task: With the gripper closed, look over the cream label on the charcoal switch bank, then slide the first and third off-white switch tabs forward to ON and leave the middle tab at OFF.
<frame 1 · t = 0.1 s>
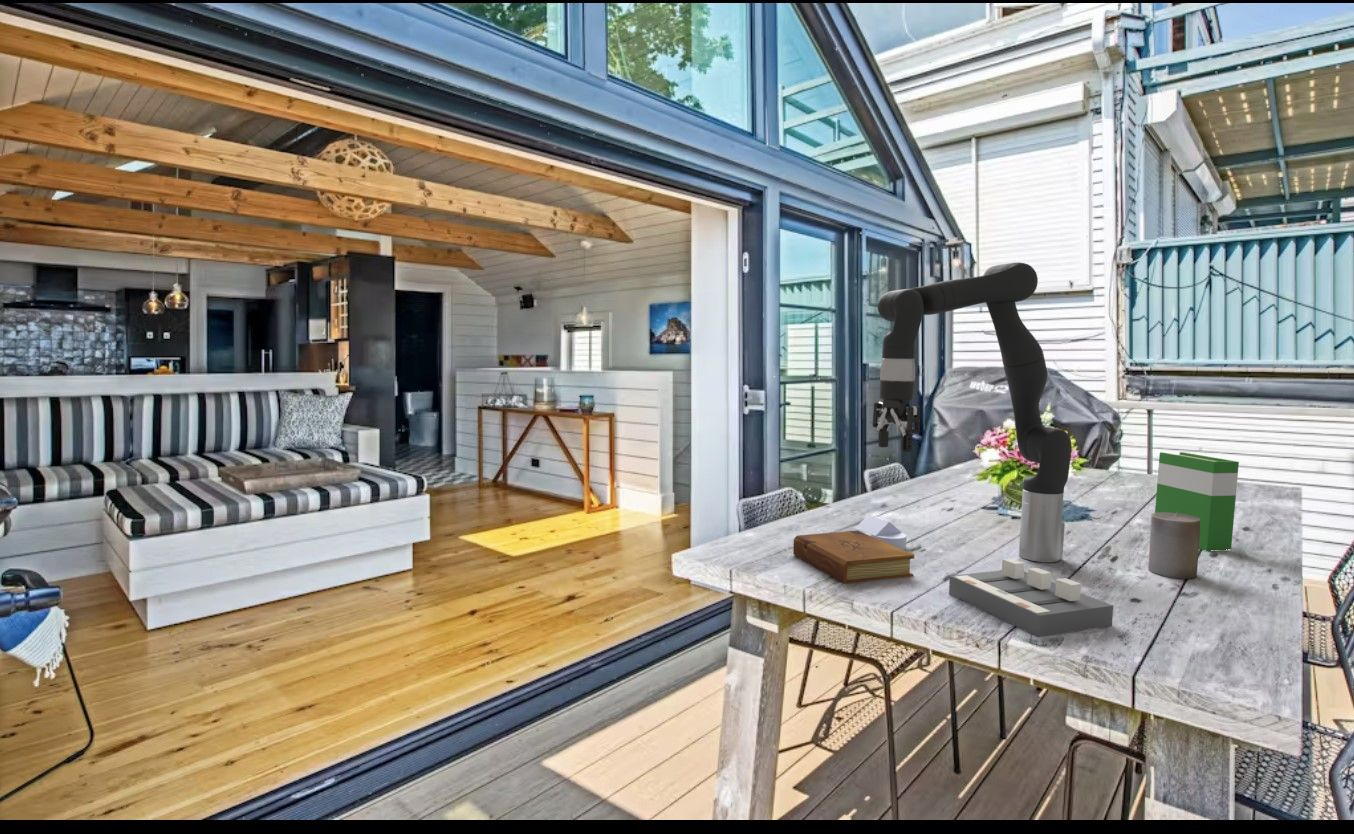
hand: (894, 449, 165), 29 cm above the table, tool pointing down, fingers open, 8 cm apart
diary: (850, 568, 174), on the table
switch tab 2: (1039, 578, 146), point 6 cm above the table, slide at 0.0 cm
switch tab 3: (1067, 589, 139), point 6 cm above the table, slide at 0.0 cm
switch tab 1: (1012, 568, 153), point 6 cm above the table, slide at 0.0 cm
wedge on round base: (883, 545, 193), on the table
hardback book: (1190, 542, 200), on the table
switch bank: (1025, 608, 146), on the table
pillar candle: (1171, 573, 171), on the table
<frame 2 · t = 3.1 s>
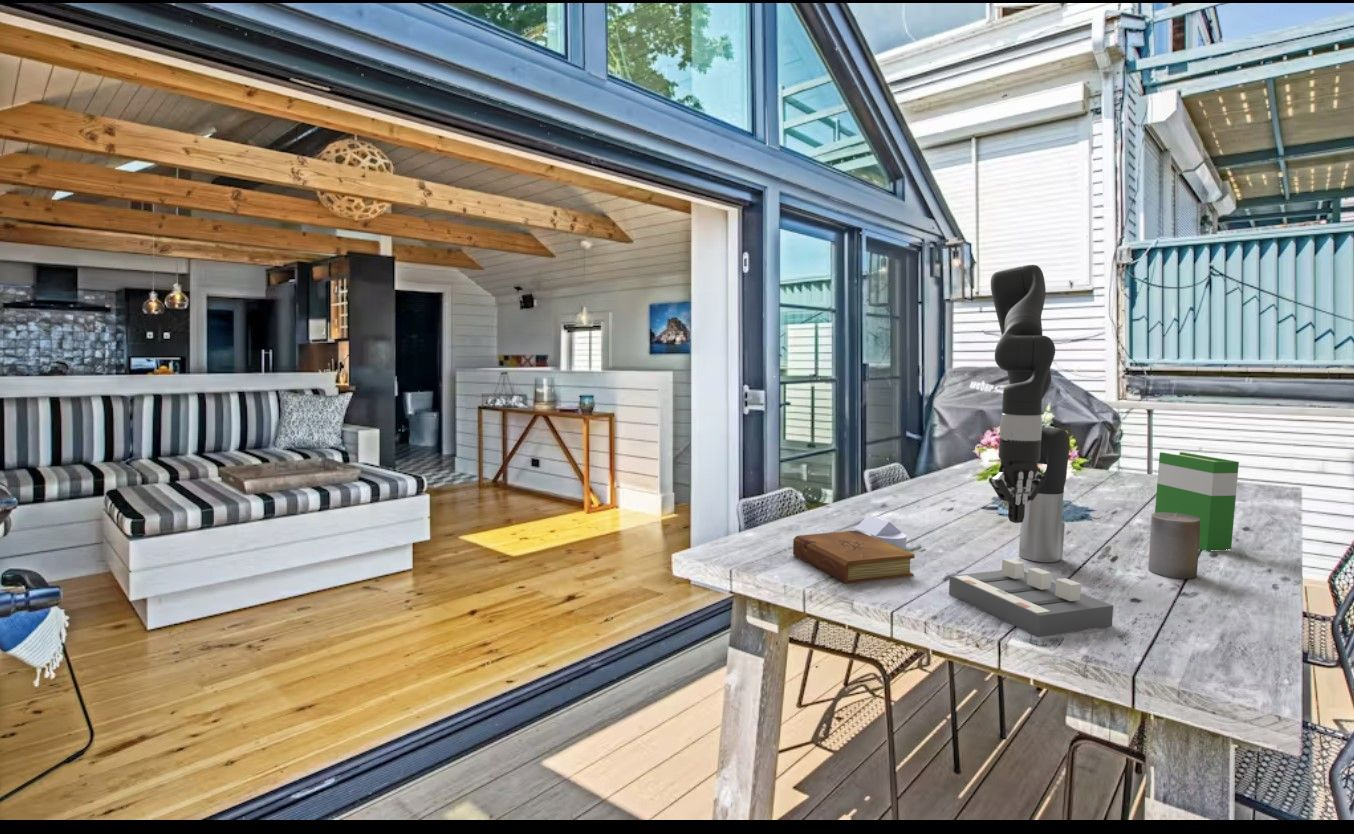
hand: (1015, 521, 144), 18 cm above the table, tool pointing down, fingers closed
nothing on the table moved.
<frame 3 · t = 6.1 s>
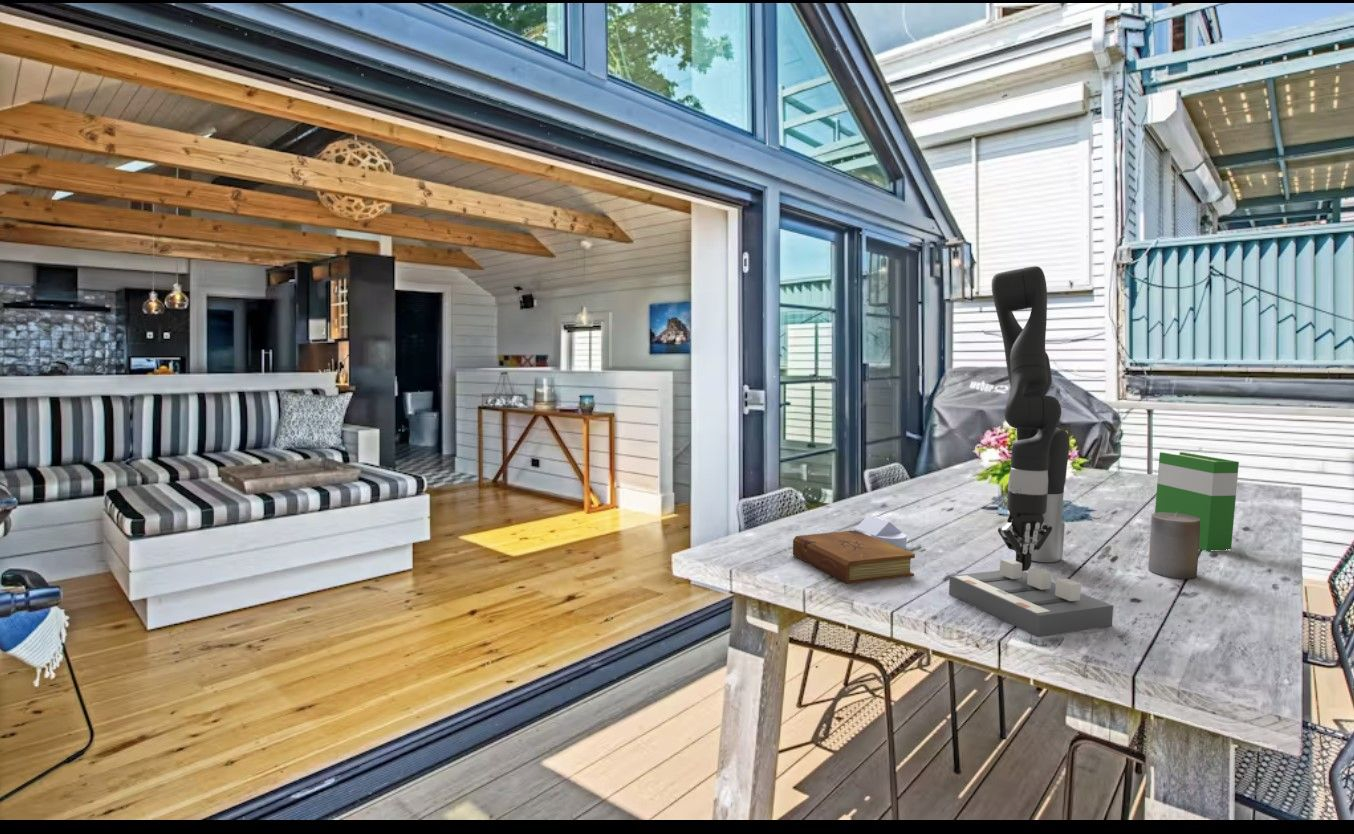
hand: (1022, 569, 153), 6 cm above the table, tool pointing down, fingers closed
switch tab 1: (1010, 568, 152), point 6 cm above the table, slide at 0.6 cm, touching gripper
everything else where it was.
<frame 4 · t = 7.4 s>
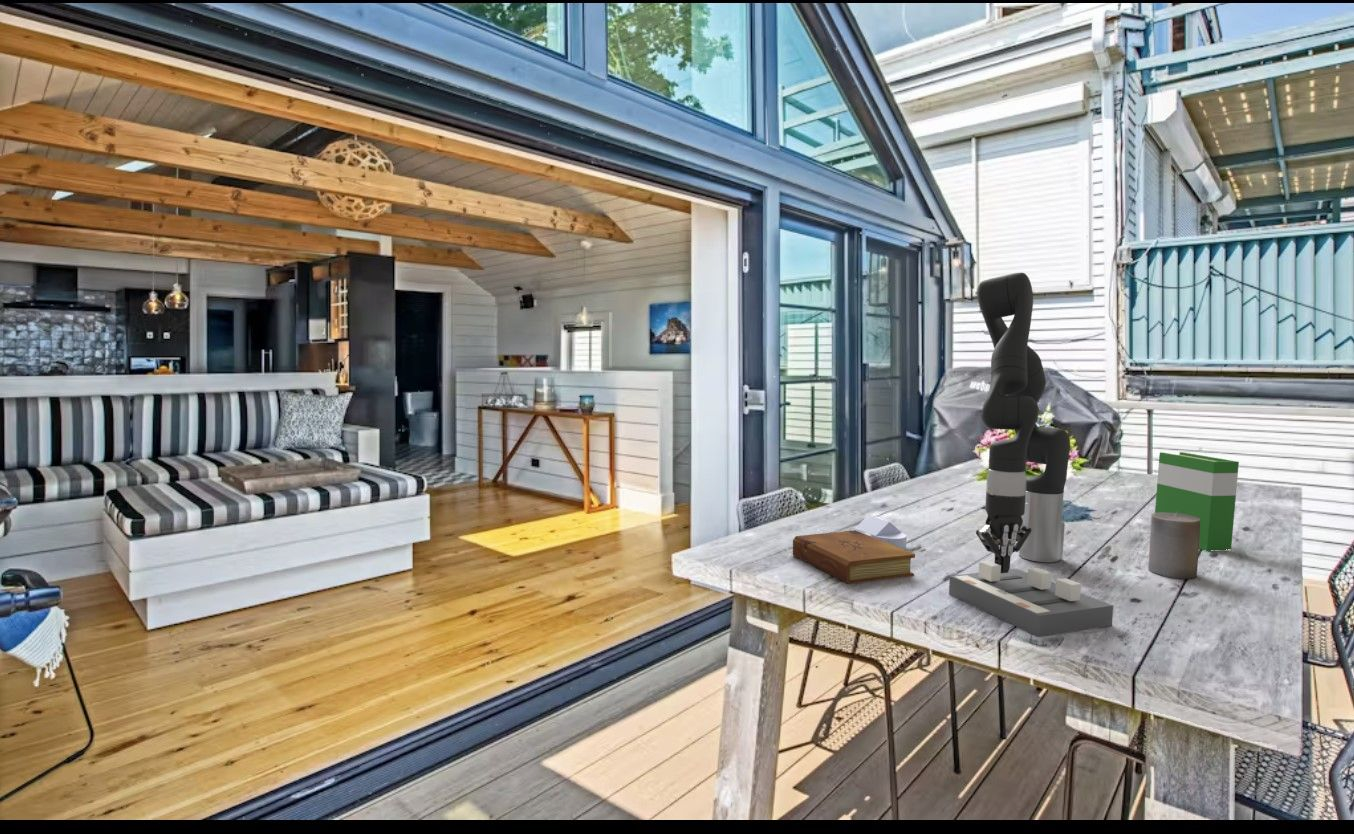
hand: (1001, 571, 151), 6 cm above the table, tool pointing down, fingers closed
switch tab 1: (989, 571, 151), point 6 cm above the table, slide at 6.1 cm, touching gripper
everything else where it was.
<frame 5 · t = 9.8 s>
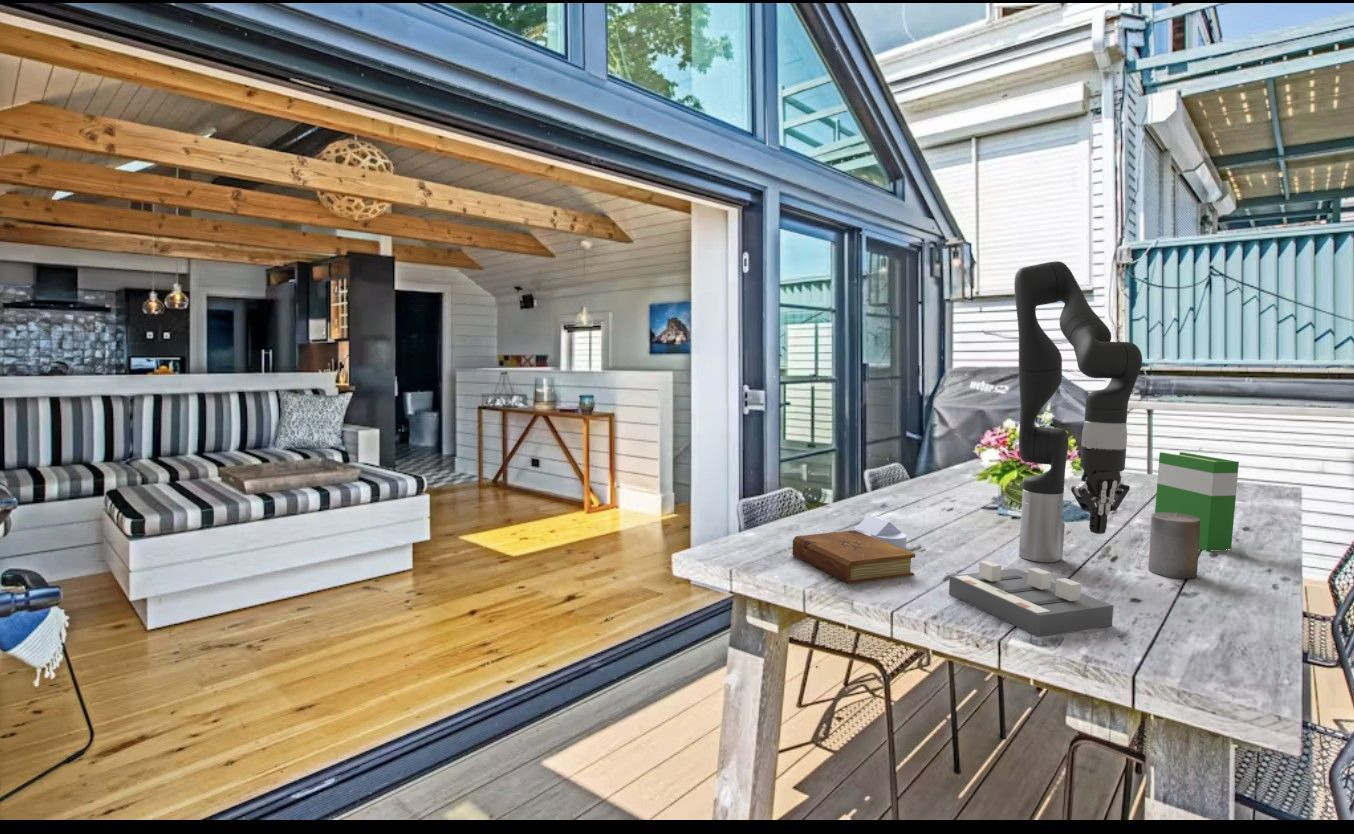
hand: (1097, 532, 141), 17 cm above the table, tool pointing down, fingers closed
switch tab 1: (989, 570, 151), point 6 cm above the table, slide at 6.1 cm
everything else where it was.
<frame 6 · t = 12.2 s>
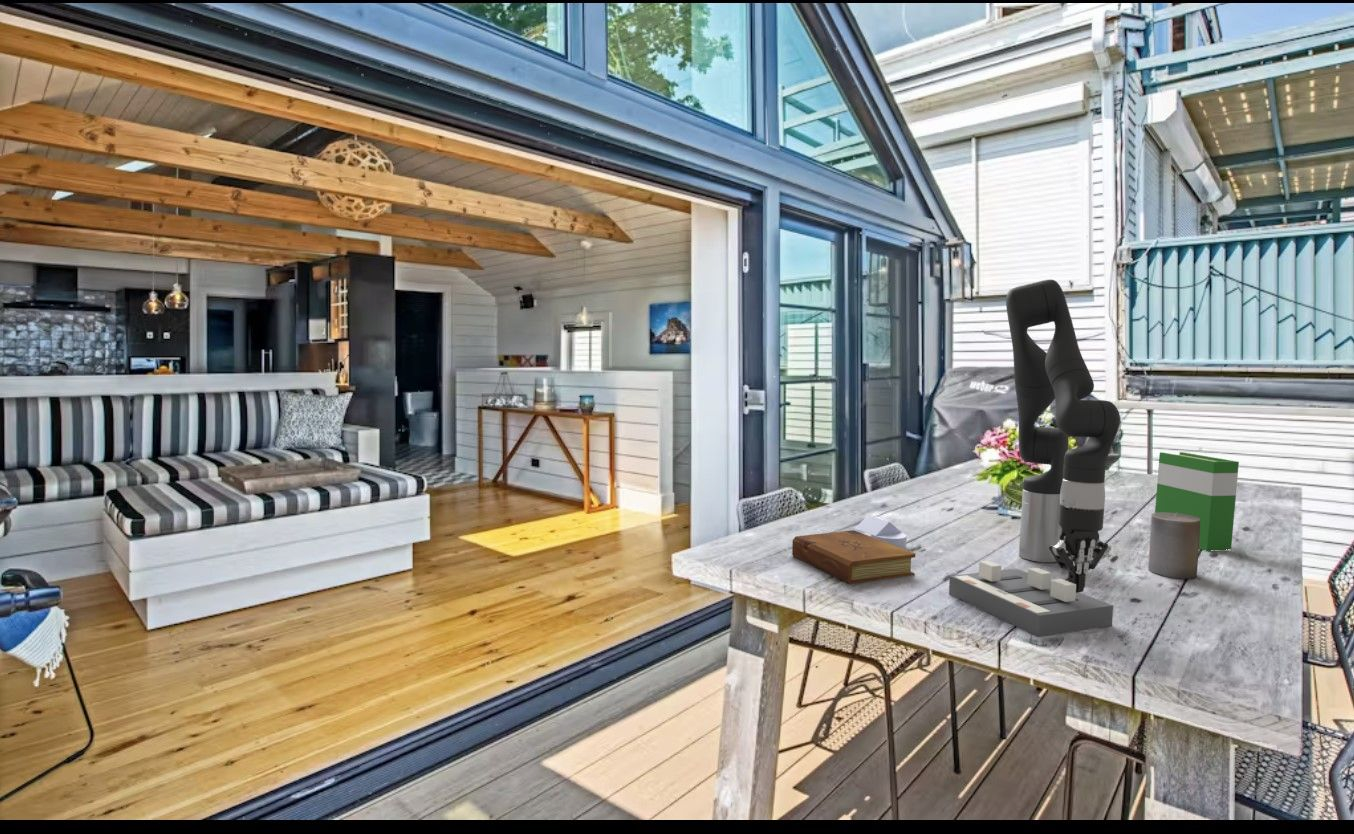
hand: (1075, 591, 140), 6 cm above the table, tool pointing down, fingers closed
switch tab 3: (1063, 590, 139), point 6 cm above the table, slide at 1.2 cm, touching gripper
everything else where it was.
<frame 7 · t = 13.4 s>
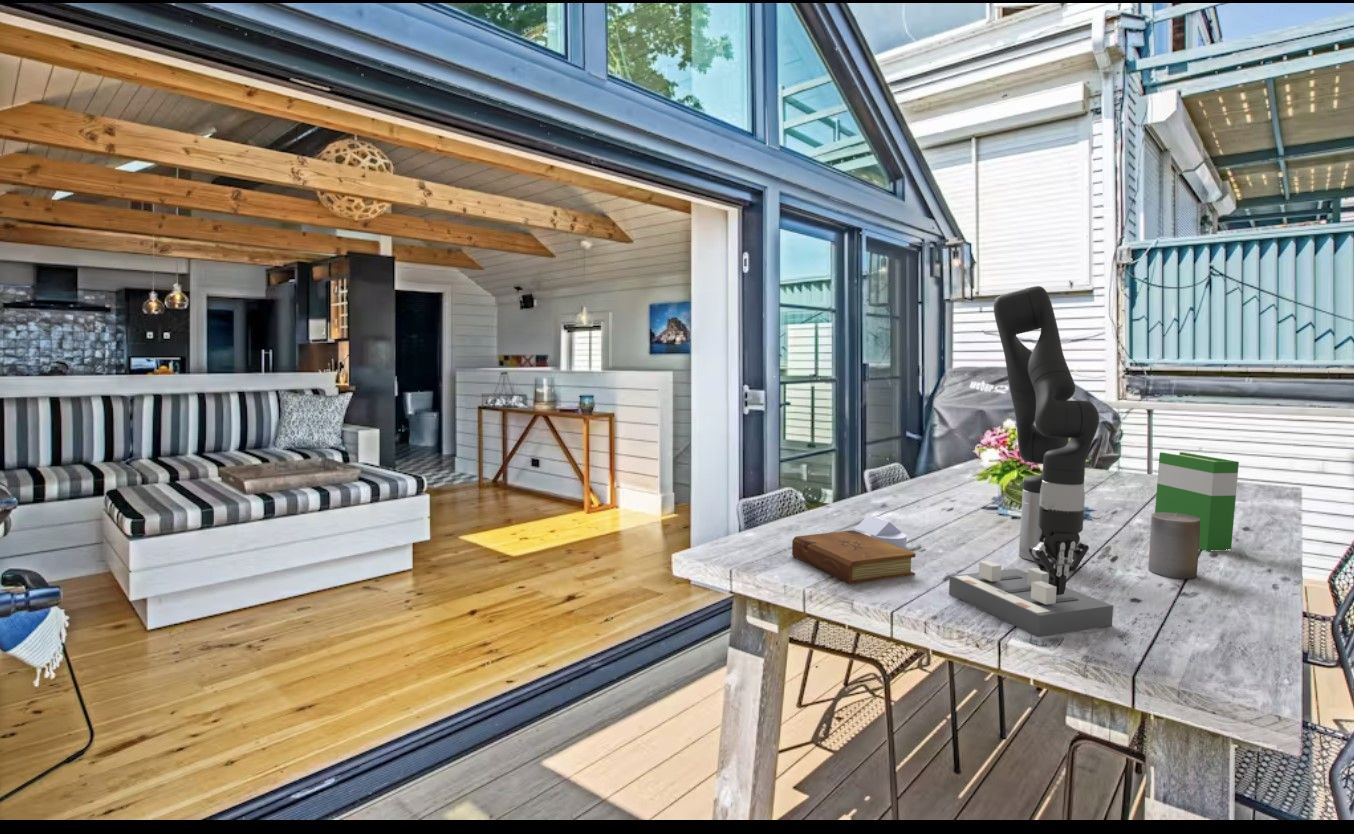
hand: (1056, 593, 138), 6 cm above the table, tool pointing down, fingers closed
switch tab 3: (1043, 592, 137), point 6 cm above the table, slide at 6.1 cm, touching gripper
everything else where it was.
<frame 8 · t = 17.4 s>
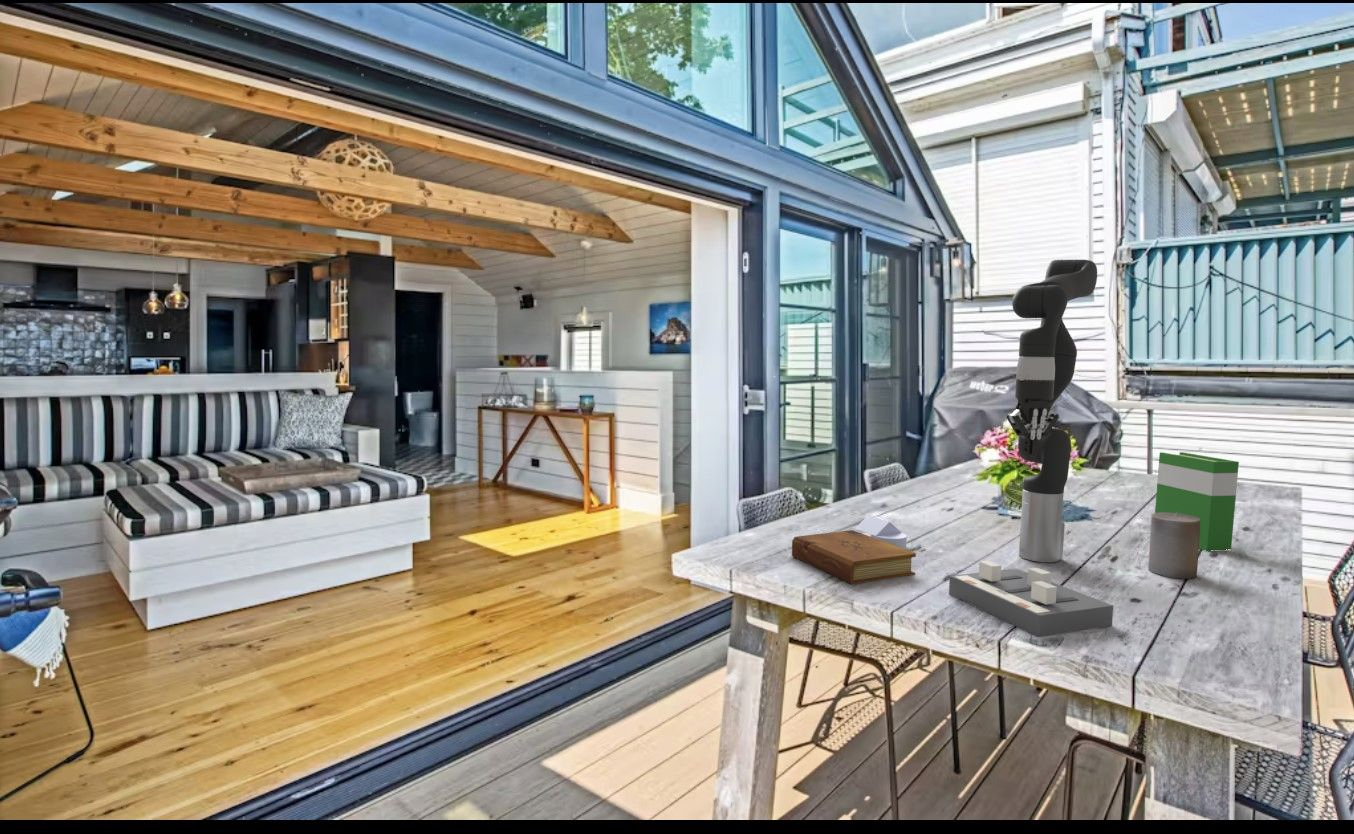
hand: (1030, 456, 159), 29 cm above the table, tool pointing down, fingers closed
switch tab 3: (1043, 592, 137), point 6 cm above the table, slide at 6.1 cm
everything else where it was.
at the end: switch tab 1 slide at 6.1 cm; switch tab 3 slide at 6.1 cm; switch tab 2 slide at 0.0 cm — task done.
